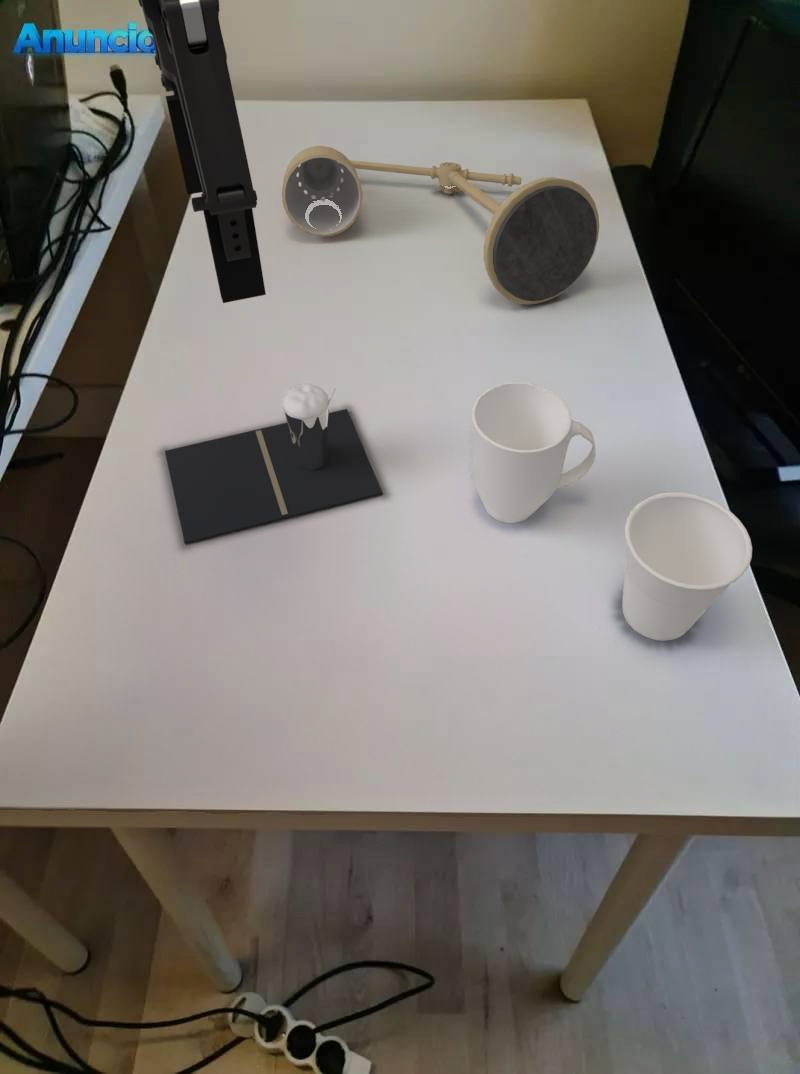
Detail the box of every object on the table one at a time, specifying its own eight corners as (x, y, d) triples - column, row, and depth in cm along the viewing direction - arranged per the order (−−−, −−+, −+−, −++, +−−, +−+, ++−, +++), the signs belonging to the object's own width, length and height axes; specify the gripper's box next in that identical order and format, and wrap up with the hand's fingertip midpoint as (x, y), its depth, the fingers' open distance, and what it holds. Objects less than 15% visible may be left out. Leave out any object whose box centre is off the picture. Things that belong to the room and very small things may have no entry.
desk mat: (185, 544, 80) (184, 541, 80) (165, 453, 88) (164, 450, 87) (382, 494, 84) (382, 491, 83) (347, 411, 92) (346, 408, 91)
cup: (603, 561, 78) (627, 483, 70) (711, 578, 77) (749, 501, 68) (597, 650, 72) (622, 577, 64) (714, 671, 71) (756, 598, 62)
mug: (469, 539, 80) (477, 452, 71) (460, 472, 86) (467, 383, 76) (589, 534, 80) (613, 447, 71) (573, 468, 86) (593, 378, 77)
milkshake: (336, 479, 85) (329, 406, 77) (285, 472, 85) (273, 399, 77) (346, 447, 87) (340, 374, 80) (297, 441, 88) (286, 367, 80)
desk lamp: (626, 176, 96) (479, 96, 124) (339, 196, 85) (250, 103, 114) (599, 298, 105) (468, 198, 134) (339, 330, 95) (257, 214, 123)
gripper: (282, -99, 33) (324, 337, 49) (182, -224, 48) (240, 144, 64) (88, -79, 31) (199, 363, 48) (47, -213, 46) (142, 160, 63)
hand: (223, 239), depth 56 cm, fingers open, 13 cm apart
